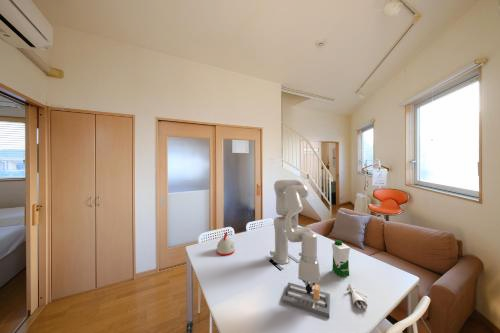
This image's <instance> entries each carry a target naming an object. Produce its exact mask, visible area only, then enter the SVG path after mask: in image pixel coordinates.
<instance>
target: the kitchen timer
mask: <svg viewBox="0 0 500 333" xmlns="http://www.w3.org/2000/svg"><path fill="white" fill-rule="evenodd" d="M234 253H235V244H234V242H233V241H232V240H231V238H230V237H228V232H227V231H225V233H224V236H223V237H222V238H221V239H220V240H219V241H218V242H217V246H216V255H218V256H221V257H228V256H231V255H233V254H234Z"/></svg>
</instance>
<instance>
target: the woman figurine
mask: <svg viewBox="0 0 500 333" xmlns="http://www.w3.org/2000/svg"><path fill="white" fill-rule="evenodd" d="M347 288H348V290H347V291H346V292H344V293H343V295H344V296H345V295H346V294H349V293H351V299H352V303H353V306H354V307H353V308H356V307H358V308H359V309H360V310H361V308H363V309H364V310H367V309H368V304H367V302H366V300H365V299H363V297H364V298H368V296H367V295H364V294H363V293H360V292H359V291H357V290H355V288H353V285H352V284H351V283H348V286H347ZM359 303H360V304H359Z"/></svg>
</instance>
